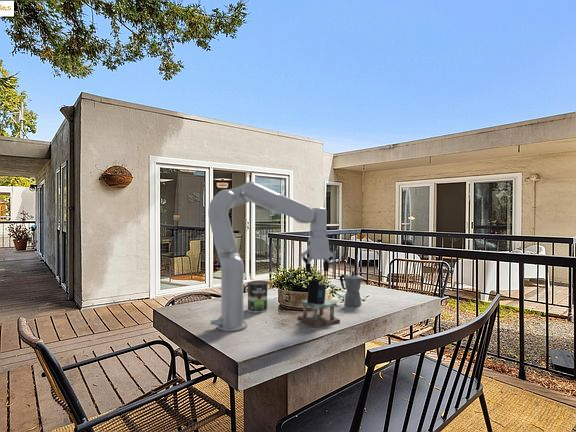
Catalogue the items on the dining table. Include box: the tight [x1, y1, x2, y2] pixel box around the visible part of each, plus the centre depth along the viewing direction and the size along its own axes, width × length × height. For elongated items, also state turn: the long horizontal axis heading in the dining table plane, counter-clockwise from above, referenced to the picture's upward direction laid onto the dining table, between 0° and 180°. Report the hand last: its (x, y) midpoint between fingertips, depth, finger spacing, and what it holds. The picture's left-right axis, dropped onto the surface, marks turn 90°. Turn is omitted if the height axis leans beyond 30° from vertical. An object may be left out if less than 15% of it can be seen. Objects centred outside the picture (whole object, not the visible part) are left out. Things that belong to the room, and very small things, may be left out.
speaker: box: [306, 279, 327, 304], centre depth 157 cm, size 8×6×10 cm
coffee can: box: [247, 280, 269, 314], centre depth 177 cm, size 10×10×14 cm
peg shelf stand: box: [297, 298, 341, 328], centre depth 158 cm, size 14×14×9 cm
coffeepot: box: [339, 271, 364, 308], centre depth 188 cm, size 15×9×18 cm, turn 44°
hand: (317, 271), depth 158 cm, fingers open, 9 cm apart
